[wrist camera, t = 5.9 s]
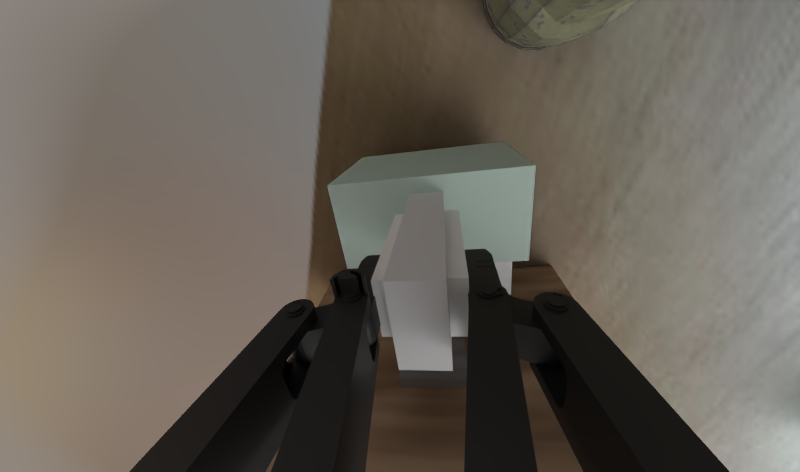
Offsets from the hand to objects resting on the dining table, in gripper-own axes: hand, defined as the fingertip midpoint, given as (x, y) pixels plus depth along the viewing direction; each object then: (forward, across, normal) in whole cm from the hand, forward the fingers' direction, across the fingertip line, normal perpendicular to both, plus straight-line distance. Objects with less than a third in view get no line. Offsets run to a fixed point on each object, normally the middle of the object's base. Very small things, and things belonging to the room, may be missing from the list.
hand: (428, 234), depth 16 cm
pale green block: (+10, 0, -2) cm, 11 cm away
